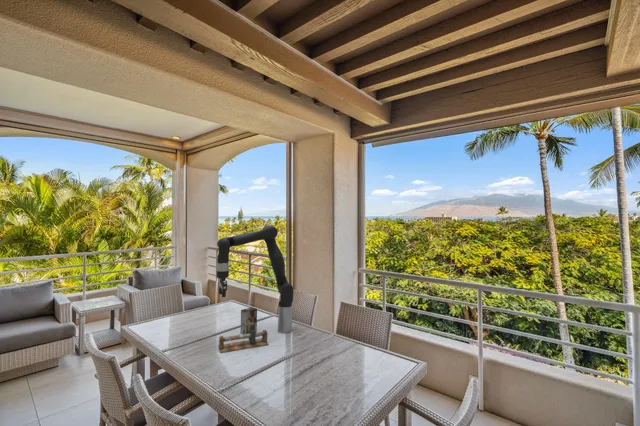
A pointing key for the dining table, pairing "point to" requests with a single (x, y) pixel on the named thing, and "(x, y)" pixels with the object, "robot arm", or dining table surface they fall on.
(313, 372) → the dining table surface
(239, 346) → the rail
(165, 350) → the dining table surface
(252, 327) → the collar
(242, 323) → the coffee box
